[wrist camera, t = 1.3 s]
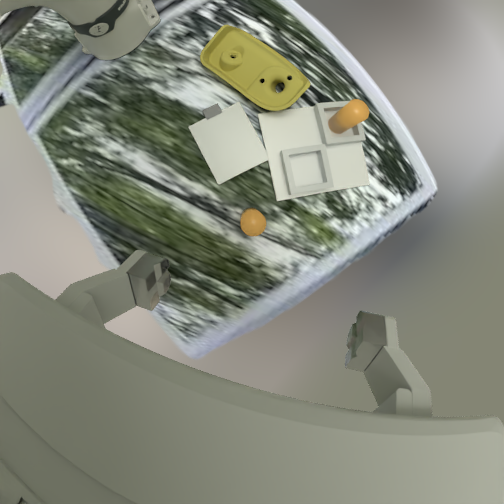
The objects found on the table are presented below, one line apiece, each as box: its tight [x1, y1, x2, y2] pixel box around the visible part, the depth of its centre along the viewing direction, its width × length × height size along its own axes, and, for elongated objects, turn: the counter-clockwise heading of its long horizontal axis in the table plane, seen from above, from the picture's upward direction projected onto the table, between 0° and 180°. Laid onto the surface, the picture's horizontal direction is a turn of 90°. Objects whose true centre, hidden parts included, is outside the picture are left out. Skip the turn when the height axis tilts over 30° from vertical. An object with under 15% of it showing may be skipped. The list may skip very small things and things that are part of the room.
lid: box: [189, 102, 268, 185], centre depth 45 cm, size 14×10×1 cm
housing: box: [258, 99, 370, 201], centre depth 41 cm, size 16×18×11 cm
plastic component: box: [200, 25, 310, 111], centre depth 41 cm, size 20×7×10 cm
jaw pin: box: [240, 208, 266, 236], centre depth 44 cm, size 4×4×10 cm
